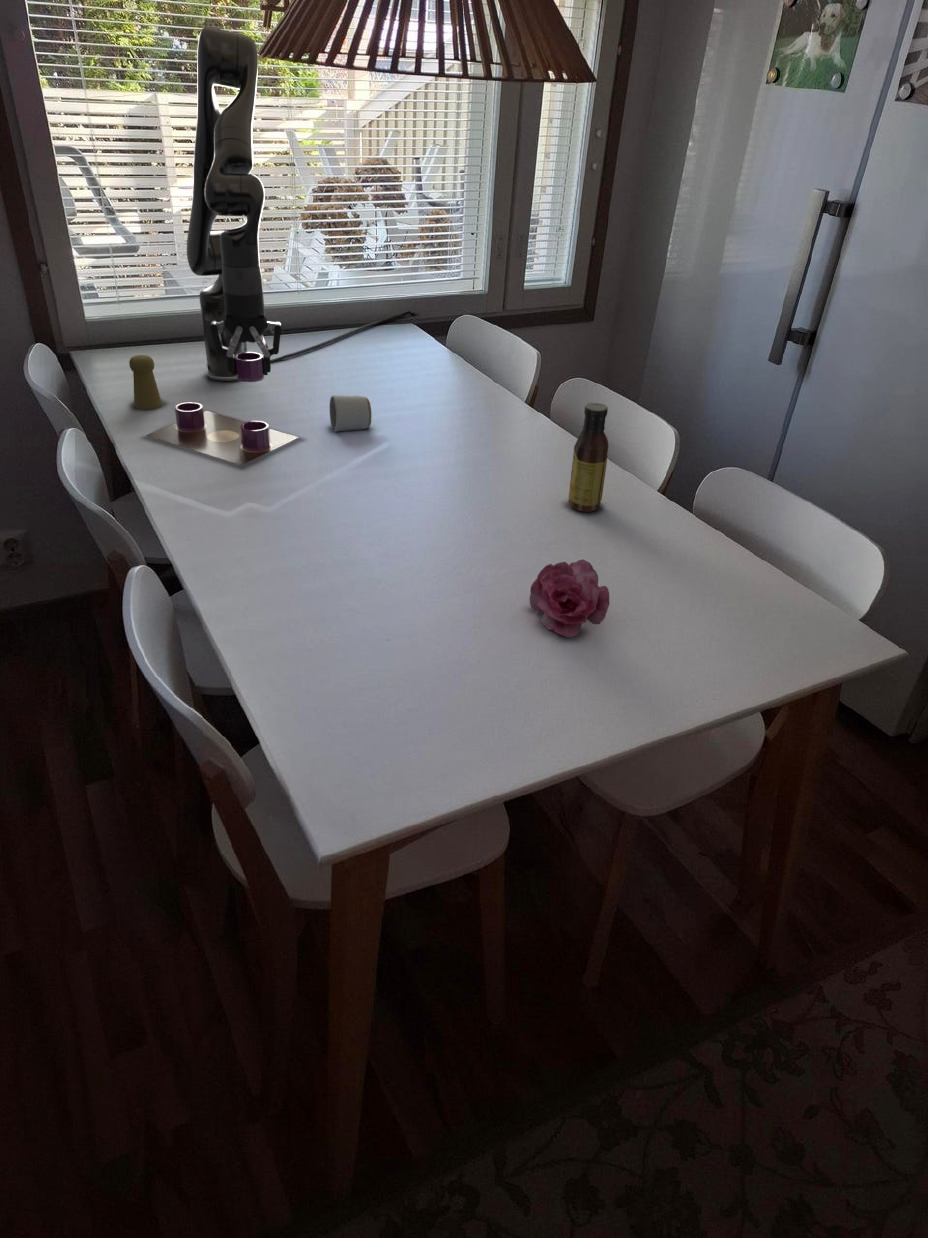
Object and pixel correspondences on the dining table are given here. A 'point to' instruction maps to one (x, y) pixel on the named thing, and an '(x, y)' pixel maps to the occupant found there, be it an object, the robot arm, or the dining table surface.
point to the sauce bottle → (589, 461)
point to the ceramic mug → (350, 412)
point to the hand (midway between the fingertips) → (250, 373)
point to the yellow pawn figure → (144, 383)
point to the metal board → (219, 439)
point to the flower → (569, 597)
